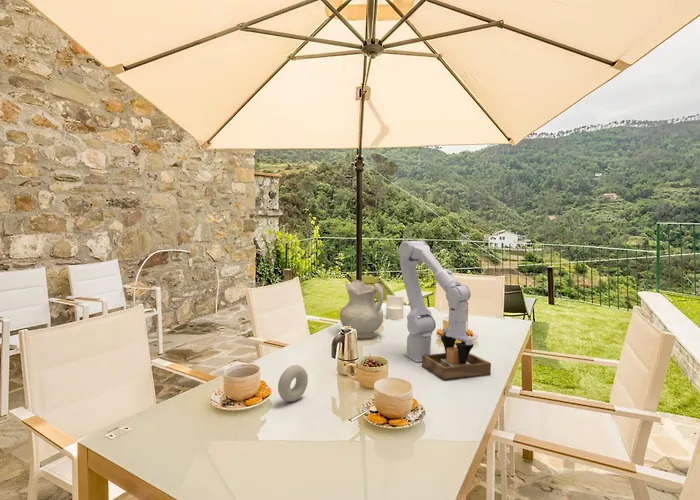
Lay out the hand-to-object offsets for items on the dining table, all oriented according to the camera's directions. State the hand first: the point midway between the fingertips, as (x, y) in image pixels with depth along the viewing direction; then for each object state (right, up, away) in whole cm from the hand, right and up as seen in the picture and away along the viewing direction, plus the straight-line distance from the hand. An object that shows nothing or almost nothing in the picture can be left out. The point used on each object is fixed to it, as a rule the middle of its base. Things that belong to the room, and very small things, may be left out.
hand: (455, 360), depth 141 cm
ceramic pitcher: (-30, -1, +42) cm, 52 cm away
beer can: (+14, -1, +48) cm, 50 cm away
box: (0, -4, 0) cm, 4 cm away
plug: (0, -3, 0) cm, 3 cm away
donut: (-52, -5, -26) cm, 59 cm away
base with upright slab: (-13, +1, +77) cm, 79 cm away
